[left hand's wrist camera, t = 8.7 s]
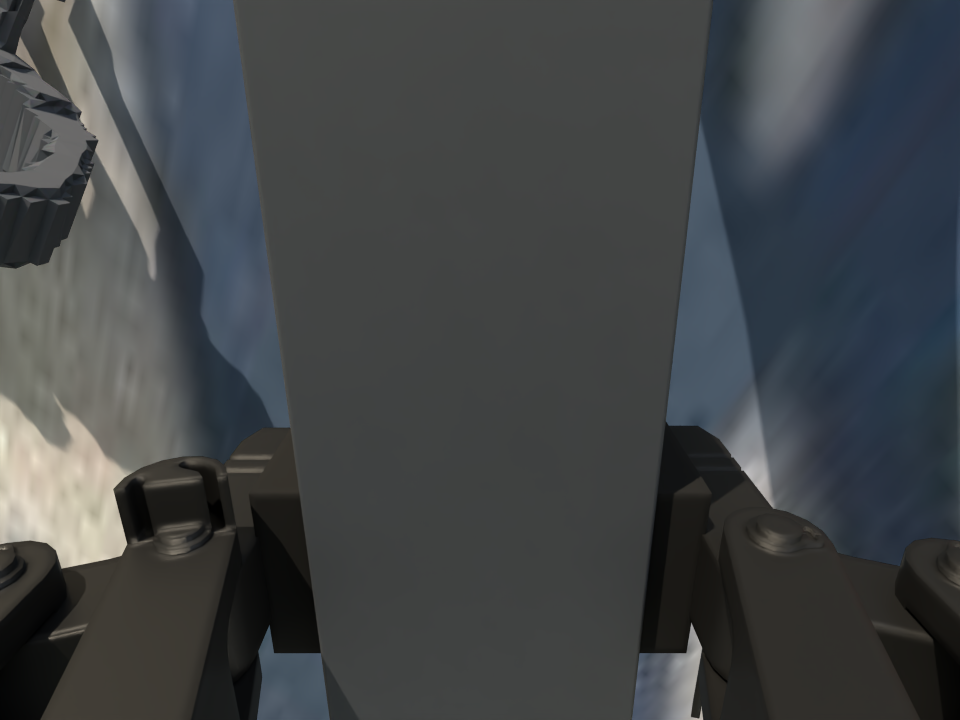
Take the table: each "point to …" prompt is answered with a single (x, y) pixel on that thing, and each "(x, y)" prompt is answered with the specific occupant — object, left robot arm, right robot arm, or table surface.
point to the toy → (36, 153)
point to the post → (476, 332)
